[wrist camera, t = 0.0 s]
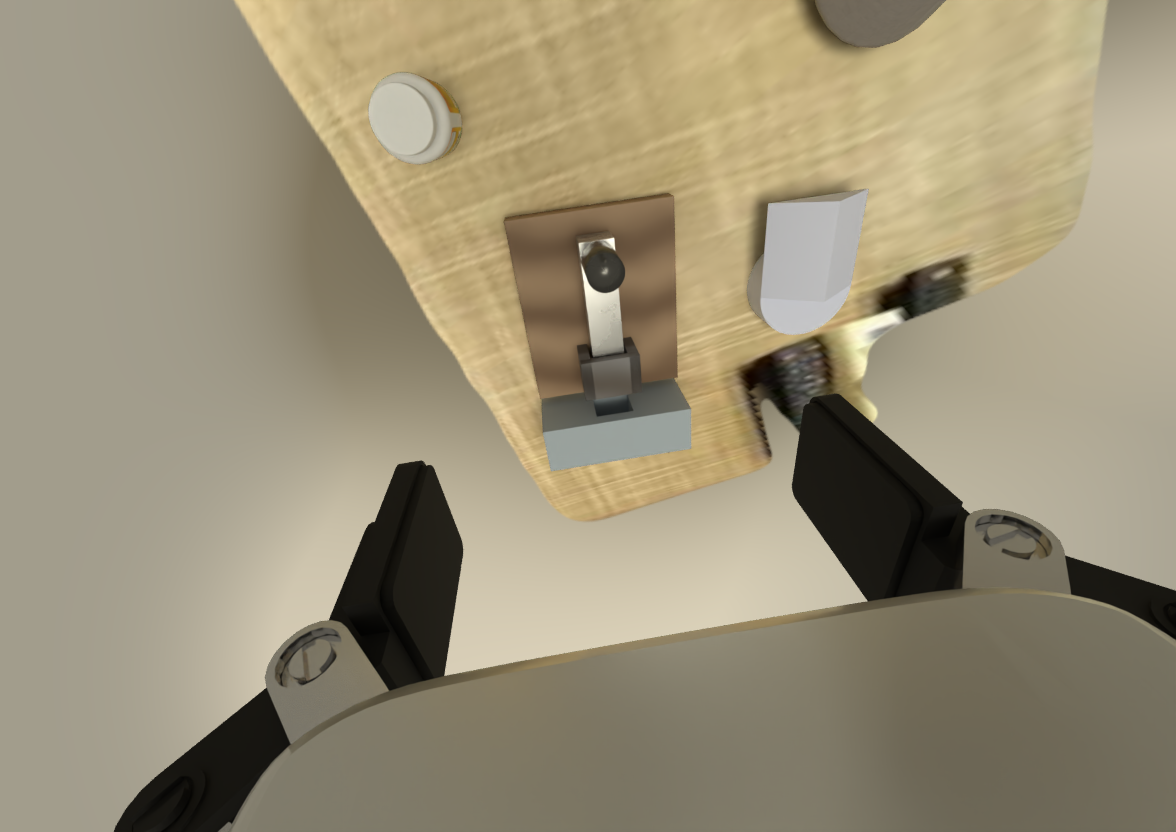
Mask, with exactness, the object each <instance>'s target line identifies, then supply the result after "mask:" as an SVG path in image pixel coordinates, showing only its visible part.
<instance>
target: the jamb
mask: <svg viewBox="0 0 1176 832" xmlns="http://www.w3.org/2000/svg"><path fill="white" fill-rule="evenodd" d="M542 423H543V435H544V440H545V445H546V450H547V454H548V459H549V464H550V469H551V471H556V470H562V469H568V468H574V467H581V466H587V465H593V464H599V463H605V462H612V461H618V460H624V459H630V458H636V457H642V456H649V455H655V454H661V453H667V452H673V451H680V450H686V449H691V408H690V406H689V404H688V403H687V401H686V399H685V397H684V396H683V394H682V392H681V390H680V389H679V387H678V385H677V383H676V381H675V380H674V378H670V379H663V380H657V381H651V382H644V383H642V392H641V393H635V394H628V395H622V396H616V397H609V398H603V399H597V400H590V401H586V399H585V394H584V392H581V393H575V394H568V395H562V396H556V397H549V398H543V399H542Z"/></svg>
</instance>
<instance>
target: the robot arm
mask: <svg viewBox="0 0 1176 832" xmlns="http://www.w3.org/2000/svg"><path fill="white" fill-rule="evenodd" d="M792 490H793V494H794V497H795V499H796V500H797V502H798V503H799V505H800V506H801V507H802V509H803V510H804V512H805V513H806V514H807V516H808V517H809V519H810V520H811V521H812V523H813V524H814V526H815V527H816V528H817V530H818V531H819V533H820V534H821V536H822V537H823V538H824V540H825V541H826V543H827V544H828V545H829V547H830V548H831V550H832V551H833V553H834V554H835V555H836V557H837V558H838V560H839V561H840V563H841V564H842V565H843V567H844V568H845V569H846V571H847V572H848V574H849V575H850V577H851V578H852V579H853V581H854V582H855V584H856V585H857V587H858V588H859V589H860V591H861V592H862V594H863V595H864V596H865V598H866V599H867V602H861V603H855V604H849V605H843V606H837V607H832V608H825V609H819V610H813V611H807V612H802V613H795V614H789V615H783V616H777V617H771V618H766V619H759V620H753V621H747V622H742V623H736V624H730V625H724V626H719V627H713V628H707V629H701V630H695V631H689V632H684V633H678V634H672V635H666V636H661V637H655V638H649V639H644V640H637V641H632V642H626V643H620V644H615V645H609V646H603V647H598V648H592V649H587V650H582V651H575V652H570V653H564V654H559V655H553V656H548V657H542V658H536V659H531V660H525V661H520V662H514V663H509V664H504V665H499V666H494V667H488V668H483V669H478V670H473V671H468V672H463V673H458V674H453V675H447V676H444V674H445V667H446V661H447V654H448V648H449V642H450V635H451V628H452V622H453V616H454V609H455V603H456V596H457V590H458V583H459V577H460V571H461V564H462V558H463V545H462V540H461V537H460V535H459V532H458V529H457V527H456V524H455V522H454V519H453V516H452V514H451V511H450V509H449V506H448V504H447V501H446V498H445V496H444V493H443V491H442V488H441V486H440V483H439V480H438V478H437V475H436V472H435V470H434V468H433V466H431V465H427V466H426V465H425V463H424V462H423V461H415V462H409V463H404V464H399V465H397V467H396V469H395V471H394V474H393V477H392V479H391V482H390V484H389V487H388V489H387V492H386V495H385V497H384V500H383V502H382V505H381V507H380V510H379V512H378V515H377V518H376V521H375V522H372V523H371V524H369V525H368V526H367V528H366V530H365V532H364V534H363V537H362V540H361V542H360V545H359V547H358V549H357V552H356V554H355V557H354V559H353V562H352V565H351V567H350V569H349V572H348V574H347V577H346V579H345V582H344V584H343V586H342V589H341V591H340V594H339V596H338V599H337V601H336V604H335V606H334V609H333V611H332V613H331V616H330V619H329V621H320V622H317V623H314V624H311V625H308V626H307V627H305V628H303V629H301V630H300V631H298V632H296V633H295V634H294V635H293V636H291V637H290V638H289V639H288V640H286V641H285V642H284V643H283V644H282V646H281V647H280V648H279V649H278V650H277V652H276V653H275V654H274V656H273V657H272V659H271V661H270V663H269V665H268V667H267V671H266V675H265V681H266V687H267V688H266V689H264V690H263V691H262V692H261V693H259V694H258V695H257V696H256V697H255V698H253V699H252V700H251V701H250V702H248V703H247V704H246V705H244V706H243V707H242V708H241V709H240V710H238V711H237V712H236V713H235V714H233V715H232V716H231V717H230V718H228V719H227V720H226V721H225V722H223V723H222V724H221V725H220V726H218V727H217V728H216V729H215V730H213V731H212V732H211V733H210V734H208V735H207V736H206V737H205V738H203V739H202V740H201V741H200V742H198V743H197V744H196V745H195V746H194V747H192V748H191V749H190V750H189V751H187V752H186V753H185V754H184V755H182V756H181V757H180V758H179V759H177V760H176V761H175V762H174V763H172V764H171V765H170V766H169V767H167V768H166V769H165V770H164V771H163V772H161V773H160V774H159V775H158V776H156V777H155V778H154V779H153V780H152V781H151V782H150V783H149V784H148V785H147V786H145V787H144V788H143V789H142V790H141V791H140V792H139V793H138V795H137V796H136V797H135V798H134V800H133V801H132V802H131V803H130V805H129V806H128V807H127V808H126V810H125V812H124V813H123V815H122V817H121V818H120V820H119V822H118V823H117V825H116V827H115V830H114V832H1176V591H1175V590H1172V589H1169V588H1165V587H1162V586H1159V585H1156V584H1153V583H1150V582H1146V581H1144V580H1140V579H1137V578H1134V577H1131V576H1128V575H1124V574H1122V573H1118V572H1115V571H1112V570H1109V569H1106V568H1103V567H1099V566H1096V565H1093V564H1090V563H1087V562H1084V561H1080V560H1077V559H1074V558H1071V557H1068V556H1065V553H1064V549H1063V547H1062V545H1061V542H1060V540H1059V539H1058V538H1057V537H1056V536H1055V535H1054V534H1053V533H1052V532H1051V531H1050V530H1048V529H1047V528H1046V527H1044V526H1043V525H1041V524H1040V523H1038V522H1036V521H1034V520H1032V519H1030V518H1028V517H1026V516H1023V515H1020V514H1017V513H1014V512H1010V511H1005V510H999V509H983V510H978V511H975V512H973V513H971V514H970V513H968V512H967V511H966V510H965V509H964V508H963V507H962V503H963V502H962V501H961V500H960V499H958V498H957V497H956V496H955V495H954V494H953V493H952V492H950V491H949V490H948V489H947V488H946V487H945V486H944V485H942V484H941V483H940V482H939V481H938V480H937V479H936V478H934V477H933V476H932V475H931V474H930V473H929V472H928V471H926V470H925V469H924V468H923V467H922V466H921V465H920V464H918V463H917V462H916V461H915V460H914V459H913V458H912V457H911V456H909V455H908V454H907V453H906V452H905V451H904V450H902V449H901V448H900V447H899V446H898V445H897V444H896V443H895V442H893V441H892V440H891V439H890V438H889V437H888V436H886V435H885V434H884V433H883V432H882V431H881V430H880V429H878V428H877V427H876V426H875V425H874V424H873V423H872V422H871V421H869V420H868V419H867V418H866V417H865V416H864V415H863V414H861V413H860V412H859V411H858V410H857V409H856V408H855V407H853V406H852V405H851V404H850V403H849V402H848V401H847V400H845V399H844V398H843V397H842V396H841V395H839V394H829V395H823V396H817V397H813V398H812V399H811V400H810V403H809V404H806V405H805V406H804V409H803V414H802V421H801V428H800V435H799V441H798V448H797V455H796V462H795V469H794V475H793V482H792Z"/></svg>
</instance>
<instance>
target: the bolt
mask: <svg viewBox="0 0 1176 832" xmlns="http://www.w3.org/2000/svg"><path fill="white" fill-rule="evenodd" d="M576 242H577V250H578V258H579V265H580V273H581V281H582V289H583V296H584V304H585V312H586V320H587V328H588V335H589V343H590V351H591V358H592V359H593V358H599V357H605V356H612V355H618V354H624V346H623V334H622V323H621V311H620V300H619V287H620V286H621V284H622V283H623V281H624V278H625V267H624V264H623V262H622V261H621V259H620V258H619V256H618V255H617V253H616V252H615V242H614V237H613V236H612V234H611V233H610V232H609V231H606V232H599V233H592V234H586V235H579V236H576Z"/></svg>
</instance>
